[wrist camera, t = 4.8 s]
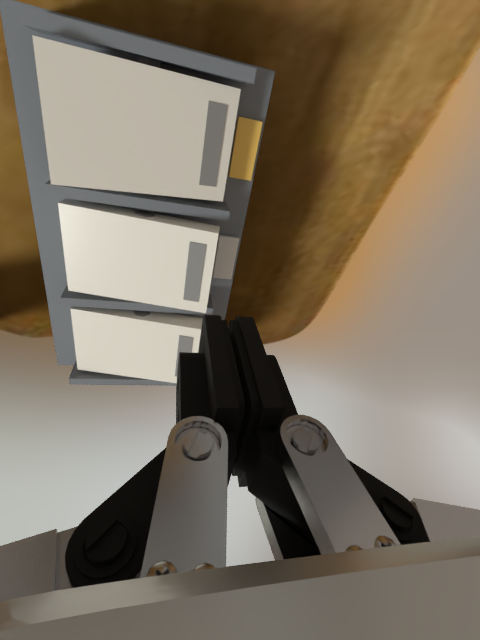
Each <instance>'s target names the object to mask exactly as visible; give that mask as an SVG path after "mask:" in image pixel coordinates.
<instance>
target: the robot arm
mask: <svg viewBox="0 0 480 640" xmlns="http://www.w3.org/2000/svg"><path fill="white" fill-rule="evenodd" d="M231 473H232V475H233V476H238V482H239V487H245V486H248V491H249V492H251V493H252V494H253V495H254V496H255V497H256V505H257V509H258V512H259V515H260V518H261V520H262V523H263V526H264V529H265V532H266V535H267V538H268V540H269V544H270V547H271V550H272V553H273V556H274V559H275V561H269V562H261V563H252V564H245V565H237V566H229V567H226V528H227V487H228V484H229V480H230V476H231ZM0 640H480V510H477V509H471V508H465V507H460V506H454V505H449V504H444V503H438V502H432V501H427V500H421V499H415V498H413V500H412V501H409V500H407V499H406V498H405V497H404V496H402V495H401V494H400V493H398V492H397V491H395V490H394V489H392V488H391V487H389V486H388V485H386V484H385V483H383V482H382V481H380V480H378V479H377V478H375V477H374V476H372V475H371V474H369V473H368V472H366V471H365V470H363V469H361V468H360V467H359V466H357V465H355V464H354V463H352V462H351V461H349V460H348V459H347V458H346V457H345V455H344V454H343V452H342V450H341V449H340V447H339V446H338V444H337V443H336V441H335V439H334V438H333V436H332V435H331V433H330V432H329V430H328V429H327V428H326V427H325V426H324V425H323V424H322V423H321V422H319V421H318V420H316V419H314V418H312V417H309V416H305V415H298V413H297V411H296V408H295V405H294V403H293V400H292V398H291V395H290V393H289V390H288V388H287V385H286V382H285V380H284V377H283V375H282V372H281V369H280V367H279V365H278V362H277V359H276V357H275V356H273V355H266V352H265V349H264V346H263V344H262V341H261V338H260V335H259V332H258V330H257V327H256V324H255V321H254V319H253V317H239V316H237V317H236V319H235V320H230V322H229V327H228V325H227V321H226V320H221V316H220V315H206V314H204V315H203V320H202V328H201V335H200V343H199V350H198V353H187V352H180V353H179V359H178V370H177V387H176V425H175V426H174V427H173V428H172V430H171V432H170V435H169V437H168V442H167V447H166V448H165V449H164V450H163V451H162V452H161V453H160V454H158V455H157V456H156V457H155V458H154V459H153V460H151V461H150V462H149V463H148V464H147V465H146V466H145V467H143V468H142V469H141V470H140V471H139V472H138V473H137V474H136V475H134V476H133V477H132V478H131V479H130V480H129V481H127V482H126V483H125V484H124V485H123V486H122V487H121V488H120V489H118V490H117V491H116V492H115V493H114V494H112V495H111V496H110V497H109V498H108V499H107V500H106V501H104V502H103V503H102V504H101V505H100V506H99V507H98V508H96V509H95V510H94V511H93V512H92V513H91V514H90V515H88V516H87V517H86V518H85V519H84V520H83V521H82V522H81V524H79V526H78V527H74V528H71V529H68V530H65V531H62V532H59V533H57V529H55V530H51V531H48V532H45V533H42V534H38V535H36V536H32V537H29V538H26V539H22V540H19V541H16V542H12V543H9V544H6V545H3V546H0Z"/></svg>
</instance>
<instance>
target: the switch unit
mask: <svg viewBox="0 0 480 640" xmlns="http://www.w3.org/2000/svg"><path fill="white" fill-rule="evenodd" d="M0 12H1V18H2V24H3V30H4V36H5V42H6V49H7V55H8V61H9V67H10V73H11V79H12V86H13V92H14V98H15V104H16V110H17V116H18V123H19V129H20V135H21V141H22V147H23V153H24V159H25V166H26V172H27V178H28V184H29V190H30V196H31V203H32V209H33V215H34V221H35V227H36V233H37V240H38V246H39V252H40V258H41V264H42V270H43V277H44V283H45V289H46V295H47V301H48V307H49V314H50V320H51V326H52V332H53V338H54V344H55V351H56V357H57V363H58V365H74V367H73V369H72V372H71V375H70V378H69V380H70V384H91V385H95V384H96V385H172V386H173V385H174V386H175V385H176V386H177V383H170V382H163V381H156V380H149V379H142V378H135V377H128V376H121V375H113V374H106V373H99V372H92V371H85V370H78V369H77V361H76V352H75V344H74V335H73V327H72V318H71V310H70V308H71V307H72V306H78V307H93V308H108V309H123V310H137V311H152V312H167V313H173V314H179V315H185V316H191V317H197V318H203V315H204V314H206V315H220V316H221V320H225V317H226V312H227V307H228V302H229V297H230V292H231V287H232V282H233V277H234V272H235V267H236V262H237V257H238V252H239V247H240V242H241V238H242V233H243V228H244V223H245V218H246V213H247V208H248V203H249V198H250V193H251V188H252V183H253V178H254V173H255V168H256V163H257V159H258V154H259V149H260V144H261V139H262V134H263V129H264V124H265V119H266V114H267V109H268V104H269V99H270V94H271V89H272V84H273V80H274V75H275V71H273V70H269V69H266V68H262V67H258V66H254V65H251V64H247V63H243V62H240V61H236V60H232V59H228V58H225V57H221V56H217V55H214V54H210V53H206V52H203V51H199V50H195V49H191V48H188V47H184V46H180V45H177V44H173V43H169V42H166V41H162V40H158V39H154V38H151V37H147V36H143V35H140V34H136V33H132V32H129V31H125V30H121V29H117V28H114V27H110V26H106V25H103V24H99V23H95V22H91V21H88V20H84V19H80V18H77V17H73V16H69V15H66V14H62V13H58V12H54V11H51V10H47V9H43V8H40V7H36V6H32V5H29V4H25V3H21V2H17V1H14V0H0ZM32 35H34V36H37V37H41V38H45V39H49V40H53V41H57V42H61V43H64V44H68V45H72V46H76V47H80V48H84V49H88V50H92V51H95V52H99V53H103V54H107V55H111V56H115V57H119V58H122V59H126V60H130V61H134V62H138V63H142V64H146V65H149V66H153V67H157V68H161V69H165V70H169V71H173V72H176V73H180V74H184V75H188V76H192V77H196V78H200V79H204V80H207V81H211V82H215V83H219V84H223V85H227V86H231V87H234V88H238V89H241V91H240V98H239V104H238V110H237V116H236V123H235V129H234V135H233V142H232V148H231V154H230V160H229V167H228V173H227V179H226V186H225V192H224V198H223V202H222V201H212V200H202V199H192V198H182V197H172V196H162V195H152V194H142V193H132V192H122V191H112V190H102V189H92V188H82V187H72V186H62V185H52V184H51V181H50V173H49V165H48V157H47V149H46V141H45V133H44V125H43V117H42V109H41V102H40V94H39V86H38V78H37V70H36V62H35V54H34V46H33V38H32ZM66 198H68V199H75V200H82V201H89V202H96V203H103V204H109V205H114V206H119V207H124V208H129V209H134V210H144V211H150V212H152V213H155V214H160V215H165V216H170V217H175V218H181V219H186V220H191V221H196V222H201V223H206V224H212V225H217V226H220V229H219V236H218V242H217V248H216V254H215V260H214V267H213V273H212V279H211V285H210V292H209V298H208V304H207V310H206V313H201V312H195V311H189V310H183V309H177V308H171V307H165V306H159V305H153V304H147V303H141V302H135V301H129V300H123V299H117V298H111V297H105V296H98V295H92V294H86V293H80V292H74V291H68V284H67V276H66V267H65V259H64V251H63V242H62V234H61V225H60V217H59V208H58V202H60V201H62V200H64V199H66Z"/></svg>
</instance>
